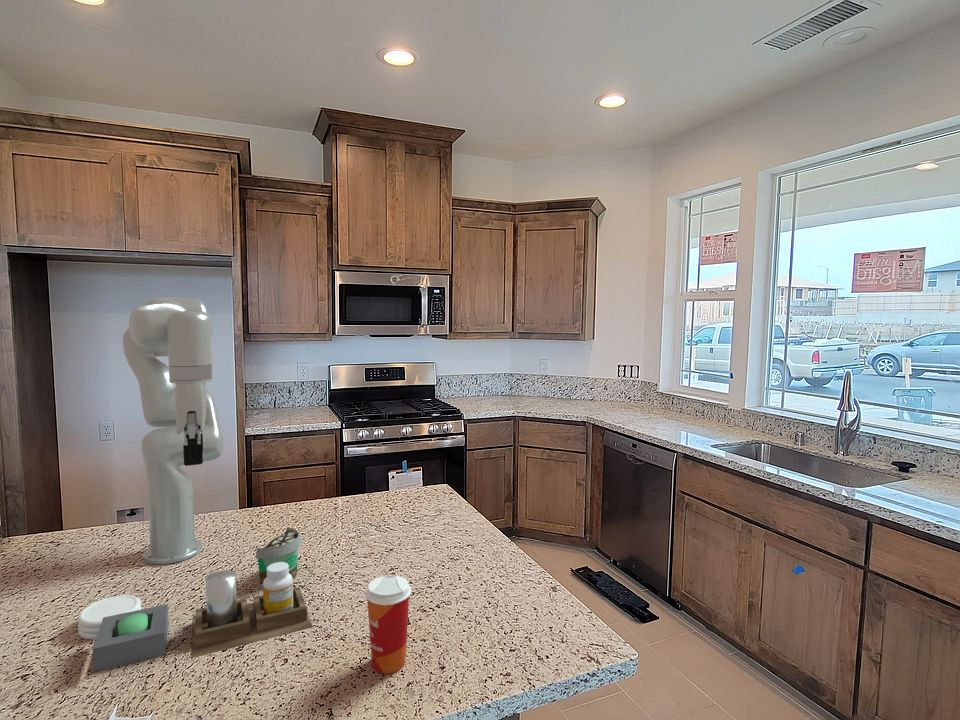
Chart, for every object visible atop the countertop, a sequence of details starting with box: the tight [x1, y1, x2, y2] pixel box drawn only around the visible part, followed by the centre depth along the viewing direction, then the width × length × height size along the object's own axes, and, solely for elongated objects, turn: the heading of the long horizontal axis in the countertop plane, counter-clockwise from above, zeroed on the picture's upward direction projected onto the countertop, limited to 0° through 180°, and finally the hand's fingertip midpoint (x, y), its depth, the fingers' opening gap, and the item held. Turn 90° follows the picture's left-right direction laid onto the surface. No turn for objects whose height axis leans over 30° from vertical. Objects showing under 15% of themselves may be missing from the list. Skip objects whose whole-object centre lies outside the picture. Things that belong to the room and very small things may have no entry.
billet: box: [205, 569, 238, 629], centre depth 98 cm, size 5×5×10 cm
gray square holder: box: [92, 603, 170, 673], centre depth 92 cm, size 10×10×5 cm
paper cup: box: [364, 575, 412, 675], centre depth 90 cm, size 8×8×14 cm
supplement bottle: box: [262, 562, 294, 615], centre depth 102 cm, size 5×5×10 cm
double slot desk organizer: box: [190, 586, 313, 659], centre depth 100 cm, size 14×20×4 cm
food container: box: [255, 527, 302, 588], centre depth 117 cm, size 12×6×10 cm, turn 168°
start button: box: [117, 613, 148, 636], centre depth 92 cm, size 4×4×4 cm
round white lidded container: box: [76, 594, 142, 640], centre depth 101 cm, size 10×10×4 cm
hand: (194, 458), depth 106 cm, fingers open, 9 cm apart
